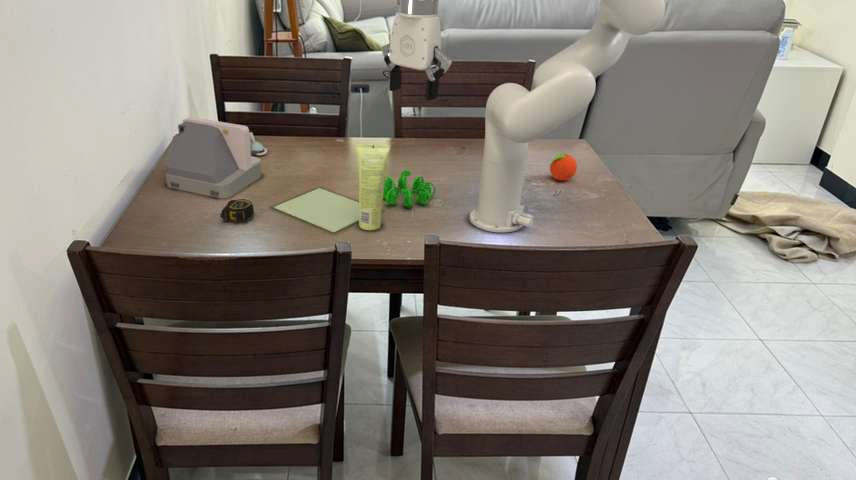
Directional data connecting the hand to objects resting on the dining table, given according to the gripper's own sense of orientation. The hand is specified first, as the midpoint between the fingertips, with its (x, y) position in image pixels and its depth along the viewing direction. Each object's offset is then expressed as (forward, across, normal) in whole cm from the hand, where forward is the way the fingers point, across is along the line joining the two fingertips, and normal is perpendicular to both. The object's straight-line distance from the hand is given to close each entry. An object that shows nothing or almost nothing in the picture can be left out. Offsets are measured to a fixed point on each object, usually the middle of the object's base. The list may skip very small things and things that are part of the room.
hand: (412, 94), depth 141 cm
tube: (+30, -5, -6) cm, 31 cm away
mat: (+30, -19, -7) cm, 36 cm away
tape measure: (+31, -30, -25) cm, 50 cm away
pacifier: (+31, -61, +7) cm, 69 cm away
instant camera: (+31, -52, -15) cm, 63 cm away
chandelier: (+30, -9, +12) cm, 34 cm away
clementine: (+29, +13, +50) cm, 60 cm away
